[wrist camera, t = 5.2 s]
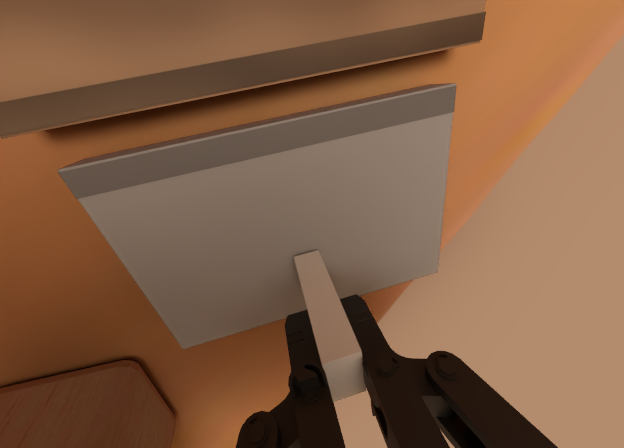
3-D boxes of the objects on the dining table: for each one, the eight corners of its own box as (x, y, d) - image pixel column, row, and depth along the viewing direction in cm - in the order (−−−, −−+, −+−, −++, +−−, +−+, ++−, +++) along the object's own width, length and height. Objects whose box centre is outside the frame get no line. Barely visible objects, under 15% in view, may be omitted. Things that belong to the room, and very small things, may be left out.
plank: (85, 158, 12) (56, 170, 10) (430, 84, 14) (456, 83, 12) (189, 324, 18) (182, 350, 16) (421, 256, 20) (438, 272, 18)
